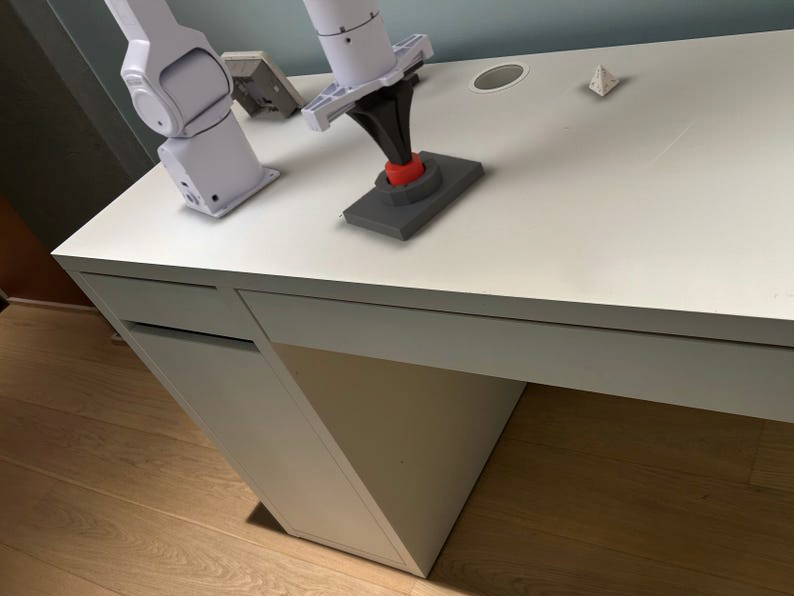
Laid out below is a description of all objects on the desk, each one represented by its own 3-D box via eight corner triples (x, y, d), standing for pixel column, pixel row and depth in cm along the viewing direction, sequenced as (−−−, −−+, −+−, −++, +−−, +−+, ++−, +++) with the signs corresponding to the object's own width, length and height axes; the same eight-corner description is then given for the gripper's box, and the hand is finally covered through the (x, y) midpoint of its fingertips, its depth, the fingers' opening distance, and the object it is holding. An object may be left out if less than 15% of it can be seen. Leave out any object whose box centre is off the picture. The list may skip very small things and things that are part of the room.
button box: (404, 241, 69) (393, 215, 67) (347, 223, 74) (335, 198, 72) (485, 174, 74) (477, 147, 72) (425, 161, 79) (416, 136, 77)
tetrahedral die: (601, 88, 82) (590, 63, 81) (620, 81, 80) (609, 56, 79) (584, 103, 81) (572, 78, 80) (603, 97, 79) (591, 71, 77)
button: (407, 189, 70) (400, 174, 69) (383, 183, 73) (377, 168, 71) (431, 170, 72) (426, 154, 71) (407, 164, 74) (402, 149, 73)
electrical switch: (309, 106, 101) (274, 43, 94) (286, 128, 98) (248, 66, 92) (266, 104, 106) (230, 45, 99) (243, 126, 104) (205, 66, 97)
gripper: (312, 63, 56) (375, 209, 65) (435, -16, 62) (478, 128, 72) (263, 59, 61) (329, 196, 70) (383, -15, 67) (429, 120, 76)
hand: (401, 161), depth 71 cm, fingers closed
